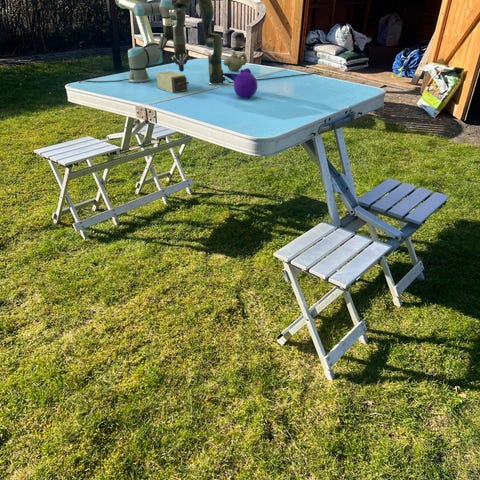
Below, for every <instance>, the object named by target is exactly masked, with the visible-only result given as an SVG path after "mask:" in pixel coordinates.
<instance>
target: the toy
mask: <svg viewBox="0 0 480 480" xmlns="http://www.w3.org/2000/svg"><path fill="white" fill-rule="evenodd" d="M222 75H223V77H225V78H227V79H228V80H231V81H232V82H234V83H233V90H234V92H235V94H236V95H237V96H238V97H239V98H242V99H250V98H252V97H253V96H254V95H255V94H256V92H257V91H258V80H256V79H257V78H256V77H255V75H254V74H252V71H251V69H250V68H248V67H246V68H243V69H240V70H239V73H233V72H223V73H222Z"/></svg>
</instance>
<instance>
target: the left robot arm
mask: <svg viewBox="0 0 480 480" xmlns="http://www.w3.org/2000/svg"><path fill="white" fill-rule="evenodd" d="M114 2H115V4H116V6H117V7H119V8H120V9H123V10H124V9H125V10H126V9H127V10H128V11H130V12H131V13H133V14H134V17H135V20H136V24H137V27H138V30H139V33H140V36H141V40H142V43H143V45H142V46H135V47H131V48H129V49H127V57H128V66H129V76H128V78H124V79H119V80H117V79H116V80H86V79H85V80H84V79H82V80H79V81H78V82H79V83H78V84H80V83H81V82H86V83H87V82H88V83H115V82H117V83H118V82H125V81H128V82H129V83H133V84H141V83H148V82H150V76H149V74H148V71H147V67H146V66H151V65H159V64H162V63H163V61H166V59H167V57H166V49H165V47H166V46H167V43H168V42H169V41H173V26H174V25H175V22H174V21H175V20H172V19H170V17H169V11H170V9H171V7H172V6H173V1H172V0H160V2H159V1H158V2H148V0H114ZM149 16H161V19H162V25H163V26H162V31H163V33H160V38H159V42H156V40H155V37H154V33H153V32H152V27H151V24H150V21H149V18H148V17H149Z"/></svg>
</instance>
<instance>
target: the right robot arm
mask: <svg viewBox="0 0 480 480" xmlns="http://www.w3.org/2000/svg"><path fill="white" fill-rule="evenodd" d="M192 1H193V0H177V1H176V2H174V4H172V7H171V9H170V11H169V17H170V19H172V20H174V21H176V23H175V24H173V25H174V26H173V40H172V42H173V43H172V44H173V51H174V53H173V56H171V58H170V59H171V60H172V62H174V64H175V65H176V66H178V71H179V72H180V73H182V72H184V71H185V67H184V65H186V64H187V62H188V61H189V59H190V55H189V54H187V48H186V46H187V45H186V37H185V23H186V12H185V10H187V9H188V8H189V6H190V5H191V3H192ZM197 3H198V9H199V14H200V19H201V24H202V30H203V38H204V43H205V44H204V45H205V46H206V47H207V48H209V49H213V51H212V52H211V53H208V55H207V57H208V58H207V59H208V60H207V61H208V81H209V85H211V86H219V85H223V84H224V82H226V81H227V82H228V83H229V84H232V83H233V84H234V81H229V80H230V79H229V78H226V76H224V75H222V73H224V70H223V67H222V66H223V64H222V55H223V38H222V36H221V34H219V33H212V22H213V19H214V15H215V9H214V4H213V1H212V0H197ZM316 74H321V75H324V73H323V72H322V71H317V72H310V73H300V74H292V75H284V76H275V77H267V78H266V77H265V78H256V80H257V81H266V80H273V79H274V80H275V79H282V78H289V77H299V76H307V75H309V76H310V75H316Z"/></svg>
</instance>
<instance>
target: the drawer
mask: <svg viewBox="0 0 480 480" xmlns="http://www.w3.org/2000/svg"><path fill="white" fill-rule="evenodd" d="M172 79H173V90H174V91H175V92H174V93H177V92H176V91H180V92H182V91H181V90H185V91H187V90H188V85H189V83H190V82H189V81H188V80H187V76H185V77H178V78H172Z"/></svg>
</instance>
